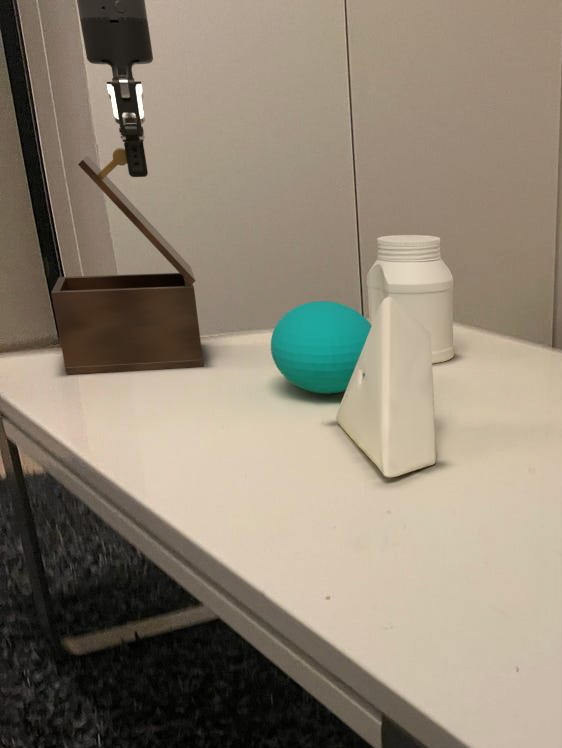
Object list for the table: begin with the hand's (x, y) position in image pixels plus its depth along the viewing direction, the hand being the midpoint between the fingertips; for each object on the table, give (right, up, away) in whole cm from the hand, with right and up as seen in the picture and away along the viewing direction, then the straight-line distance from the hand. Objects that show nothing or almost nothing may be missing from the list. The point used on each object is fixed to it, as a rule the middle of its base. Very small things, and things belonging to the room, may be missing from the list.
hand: (138, 174), depth 123 cm
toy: (+24, -28, -5) cm, 38 cm away
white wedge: (+35, -39, -25) cm, 58 cm away
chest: (-4, -20, +9) cm, 23 cm away
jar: (+33, -19, +12) cm, 40 cm away
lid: (-1, -5, +2) cm, 6 cm away
